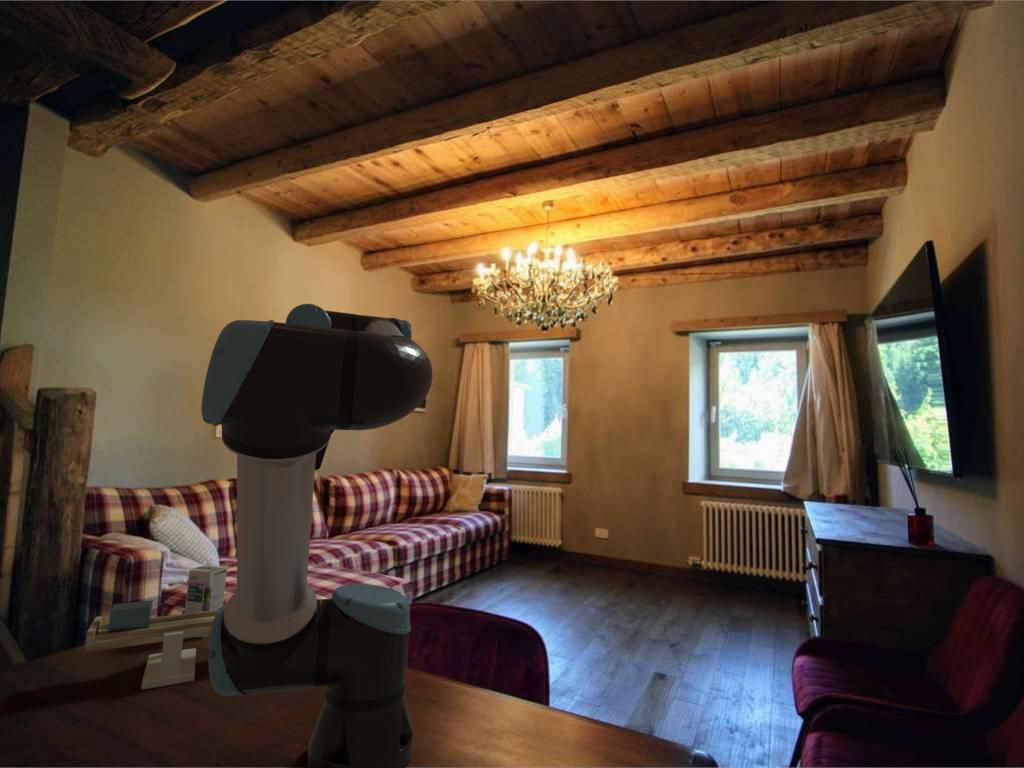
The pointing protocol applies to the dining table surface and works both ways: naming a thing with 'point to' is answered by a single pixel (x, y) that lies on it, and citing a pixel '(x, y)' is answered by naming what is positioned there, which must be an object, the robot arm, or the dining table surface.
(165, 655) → the pivot stand
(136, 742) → the dining table surface
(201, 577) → the syrup box
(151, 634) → the balance beam
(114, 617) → the rider
